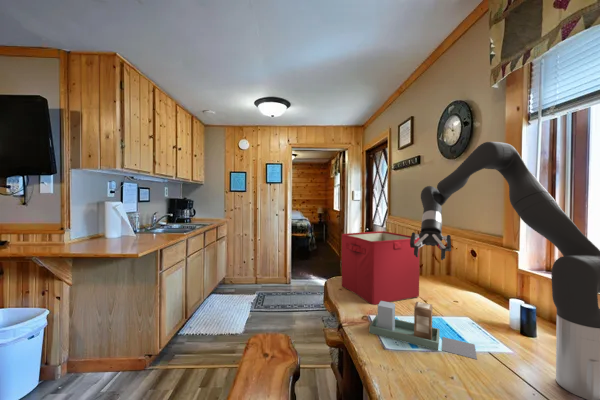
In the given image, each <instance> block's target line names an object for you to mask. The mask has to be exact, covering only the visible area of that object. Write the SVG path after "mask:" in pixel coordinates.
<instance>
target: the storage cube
mask: <svg viewBox="0 0 600 400" xmlns="http://www.w3.org/2000/svg"><path fill="white" fill-rule="evenodd" d="M410 239H411V235H407V234H406V235H405V234H402V233H397V232H396V233H395V232H391V231H385V230H383V231H378V230H377V231H364V232H363V231H362V232H350V233H349V232H348V233H341V287H342V288H345V289H346V290H348V291H351V292H352V293H353V294H354V295H357V296H358V297H360V298H362V299H363V300H364V301H365V302H367V303H369V304H370V305H372V306H378V304H379V303H380V301H385V302H390V303H394V302H397V301H404V300H408V299H414V298H418V297H419V296H420V250H419V251H418V257H416V256H415V255H414V248H411V247H410ZM418 240H419V238H417V239H416V240H415V242H414V243H417V242H418Z"/></svg>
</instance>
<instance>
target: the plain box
mask: <svg viewBox="0 0 600 400" xmlns="http://www.w3.org/2000/svg"><path fill="white" fill-rule="evenodd" d="M377 315H378V322H377V327H379V328H383V329H387V330H391V331H394V329H395V319H396V302H395V303H394V302H385V301H380V303H379V304H377Z"/></svg>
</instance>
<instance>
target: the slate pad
mask: <svg viewBox="0 0 600 400" xmlns="http://www.w3.org/2000/svg"><path fill="white" fill-rule="evenodd" d="M441 348H442V349H441V351H443V352H447V353H450V354H453V355H457V356H462V357H465V358H470V359H472V360H476V361H477V360H478V356H477V351H476V344H474V343H470V342H466V341H462V340H458V339H453V338H448V337H445V336H442V343H441Z"/></svg>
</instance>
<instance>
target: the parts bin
mask: <svg viewBox="0 0 600 400" xmlns="http://www.w3.org/2000/svg"><path fill="white" fill-rule="evenodd" d="M377 322H378V314H375V317H373V320H372V321H371V322H370V324H369V329H368V330H369V334H374V335H377V336H381V337H384V338H388V339H392V340H396V341H401V342H403V343H408V344H411V345H415V346H418V347H423V348H427V349H430V350H434V351H439V344H440V330H441V329H440V328H436V327H433V326H432V340H428V339H424V338H420V337H416V336H414V322H410V321H405V320H401V319H396V318H395V329H394V331H391V330H387V329H383V328H379V327H377Z"/></svg>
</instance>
